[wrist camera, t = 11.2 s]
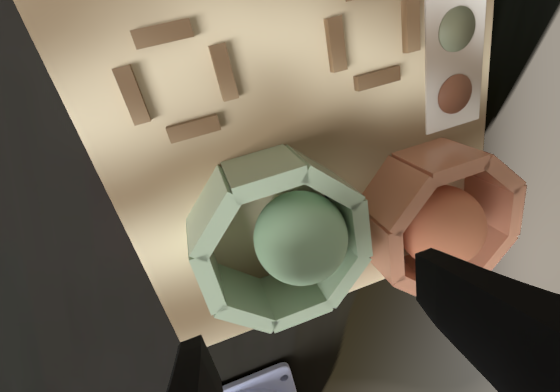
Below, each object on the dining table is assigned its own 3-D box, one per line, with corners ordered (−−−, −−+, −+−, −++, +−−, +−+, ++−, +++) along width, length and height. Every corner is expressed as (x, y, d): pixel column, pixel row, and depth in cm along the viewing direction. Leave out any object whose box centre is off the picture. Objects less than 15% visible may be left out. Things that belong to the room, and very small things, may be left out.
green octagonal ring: (347, 258, 18) (376, 293, 16) (217, 305, 17) (226, 352, 15) (329, 130, 15) (362, 148, 13) (168, 177, 14) (167, 208, 11)
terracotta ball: (450, 227, 19) (505, 270, 16) (385, 248, 19) (425, 296, 16) (451, 163, 18) (513, 195, 14) (378, 184, 17) (423, 222, 14)
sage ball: (306, 237, 18) (371, 264, 15) (248, 282, 16) (311, 323, 13) (291, 168, 16) (362, 184, 13) (223, 208, 14) (291, 237, 11)
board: (466, 237, 22) (481, 246, 20) (185, 342, 19) (186, 360, 18) (487, -136, 13) (514, -151, 12) (-4, -53, 11) (-24, -64, 9)
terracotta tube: (471, 240, 21) (515, 269, 18) (364, 281, 19) (394, 318, 17) (478, 125, 17) (533, 139, 15) (350, 166, 16) (384, 189, 14)
